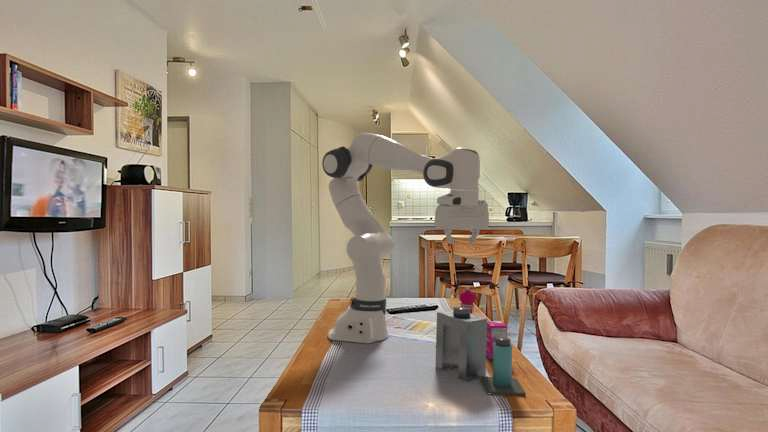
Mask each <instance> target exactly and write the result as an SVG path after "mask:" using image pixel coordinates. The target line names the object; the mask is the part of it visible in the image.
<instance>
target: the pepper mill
mask: <svg viewBox="0 0 768 432" xmlns="http://www.w3.org/2000/svg"><path fill="white" fill-rule="evenodd" d="M458 297H459V301H460V306H459V307H467V308H470V313H471V314H473V310H474V308H475V301H476V298H477V296H476V293H475V292H474V291H472V290H471V287H470V286H469V285H467V286H465V289H464V290H462V291H461V292H460V293H459V296H458Z"/></svg>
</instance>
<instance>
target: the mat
mask: <svg viewBox="0 0 768 432" xmlns="http://www.w3.org/2000/svg"><path fill="white" fill-rule="evenodd" d="M481 380H482V381H481ZM480 381H481V383H482V385H483V388H484V387H485V388H484V390H485V389H486V390H485V392H486V391H487V392H486V394H487V393H491V394H490V395H492V394H500V396H516V397H517V396H519V397H526V391H525V390H524V388H523V387H522V385H521V383H520V382H519V380H518V379H517V378H516V377H512V384H511V387H509V388H500V387H497V386H495V385H493V376H484V377H481V378H480Z"/></svg>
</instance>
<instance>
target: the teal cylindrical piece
mask: <svg viewBox="0 0 768 432" xmlns="http://www.w3.org/2000/svg"><path fill="white" fill-rule="evenodd" d="M512 367H513V345H512V343H511V338H508V337H507V338H506V337H496V338H495V343H493V360H492V377H493V385H495V386H497V387H500V388H509V387H511V384H512V378H513V377H512V375H513V373H512V371H513V370H512V369H513V368H512Z"/></svg>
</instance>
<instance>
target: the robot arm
mask: <svg viewBox="0 0 768 432" xmlns="http://www.w3.org/2000/svg"><path fill="white" fill-rule="evenodd" d="M480 158H481V157H480V154H479V153H478V152H477V150H474V149H471V148H464V147H455V148H454V149H453V150H452V151H450V152H449V153H447V154H444V155H442V156H438V157H436V158H433V157H430V156H428V155H425V154H423V153H419V152H417V151H415V150H413V149H411V148H409V147H407V146H405V145H403V144H402V143H399V142H397V141H396V140H394V139H392V138H389V137H387V136H384V135H381V134H376V133H372V132H359V133H357V134H356V135H355V136H354V137H353V138H352V141H351V144H350V146H348V147H345V146H340V147H338V148H334V149H333V148H332V149H331V150H328V151H327V152H325V153H324V156H323V158H322V161H321V165H322V170H323V171H324V174H325V175H327V176H328V177H330V178H332V179H331V180H330V181H329V182H328V190H329V195H330V197H331V200H332V203H333V205H334V207H335V209H336V211H337V213H338V215H339V217H340V220H341V221H342V224H343V225H344V227H346V229H347V230H349V231H350V232H351V233H352V234H353V235H354V236H352V237H351V238H350V239H348V242H347V244H346V254H347V256H348V258H349V259H350V260H351V262H352V265H353V270H354V274H355V296H351V297H350V298H349V308H347V310H345V311H343V313H341V314H340V315H338V316H337V318H336V320H335V322H334V327H332V328H331V329H330V330H328V334H327V337H328V339H329V340H332V341H340V342H351V343H361V344H372V343H374V342H379V341H383V340H386V339H387V338H389V332H388V328H387V327H388V326H387V319H386V313H387V298H386V282H387V280H386V279H387V278H386V277H385V274H384V272H383V270H382V266H381V265H382V264H381V260H385V259H386V258H388V257H389V256H390V255H392V253H393V251H394V249H395V246H396V245H395V244H396V243H395V241H394V238H393V237H392V236H391V235H390V234H389V233H388V232H386V230H385V229H384V228H383V227H382V225H381V224H380V223H379V222H378V220H377V219H376V218H375V216H374V215H373V214H372V212H371V210H370V208H369V206H368V205H367V202H366V201H365V198H364V197H363V195H362V192H361V191H360V190H359V188H358V182H361V181H363V180H364V178H365V177H366V176H367V175H368V174H369V173H370V172H371V170H372V168H373V167H377V168H379V169H383V170H384V169H385V170H393V171H414V172H417V173H420V174H423V179H424V181H425V183H426V184H427V185H428V186H429V187H432V188H437V189H449V190H450V191H449V193H447V194H445V195H441V196H439V197H437V199H436V204H437V206H436V208H435V215H434V226H435V228H436V229H439V230H444V231H443V233H444V235H445V237H446V244H454V241H455V238H454V237H453V236H452V233H453V230H471V232H472V233H471V236H469V237H468V242H469V243H472V244H474V243H477V237H478V236H479V234H480V230H481V229H487V228H488V227H489V225H490V216H489V215H490V214H489V204H488V203H487V201H486V200H484V199H479V192H480V189H479V179H480V177H481V175H480V173H481V160H480Z"/></svg>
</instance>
